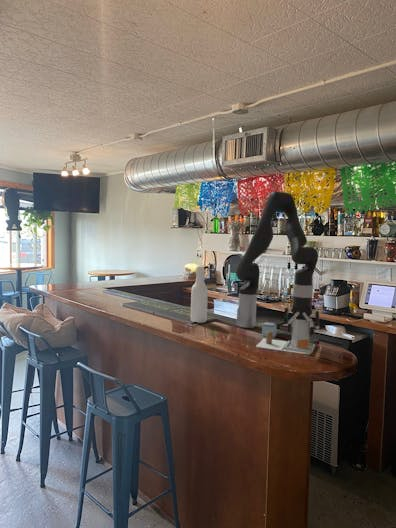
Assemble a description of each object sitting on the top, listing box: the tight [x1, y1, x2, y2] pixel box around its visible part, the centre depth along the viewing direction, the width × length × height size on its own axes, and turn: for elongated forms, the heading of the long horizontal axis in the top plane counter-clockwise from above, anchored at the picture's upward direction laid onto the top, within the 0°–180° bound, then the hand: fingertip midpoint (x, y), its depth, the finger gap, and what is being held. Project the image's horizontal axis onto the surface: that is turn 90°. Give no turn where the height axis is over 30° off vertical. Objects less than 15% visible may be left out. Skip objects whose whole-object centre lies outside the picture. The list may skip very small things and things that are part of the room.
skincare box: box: [290, 318, 311, 348], centre depth 165 cm, size 6×4×12 cm
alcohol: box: [190, 265, 209, 324], centre depth 214 cm, size 9×9×30 cm
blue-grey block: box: [261, 321, 278, 339], centre depth 184 cm, size 6×6×7 cm
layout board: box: [255, 331, 316, 356], centre depth 168 cm, size 23×15×6 cm, turn 67°
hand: (300, 333), depth 165 cm, fingers open, 8 cm apart
